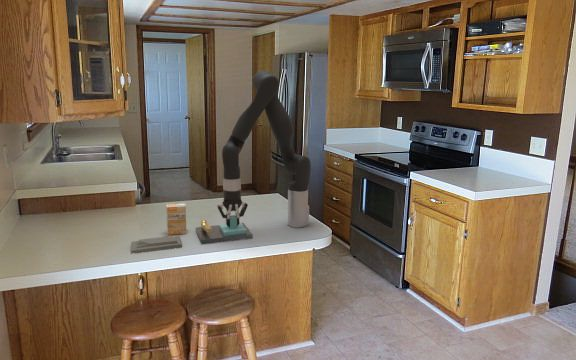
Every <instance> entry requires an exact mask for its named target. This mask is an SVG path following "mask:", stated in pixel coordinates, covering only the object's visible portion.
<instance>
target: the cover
mask: <svg viewBox="0 0 576 360" xmlns="http://www.w3.org/2000/svg"><path fill="white" fill-rule="evenodd" d="M229 219H230V227H228V226H227V225H226V223H225V224H219V228H220V230H221V231H222V233H223V235H224V236H225V235H234V234H243V233H247V229H246V228H245V227H244V226H243V224H242V223H243V222H239V225H238V226H237V217H236V214H235V215H234V214H233V215H232V214H231V215H230V218H229Z"/></svg>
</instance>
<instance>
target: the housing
mask: <svg viewBox="0 0 576 360" xmlns="http://www.w3.org/2000/svg"><path fill="white" fill-rule="evenodd" d="M241 223H242V224H243V226H244V227H245V228H246V229H247V233H243V234H234V235H225V236H224V235H223V233H222V231H221V230H220V228H219V225H220V224H219V225H218V224H217V225H216V224H215V225H209V226H210V227H211V228H212V233H207V232H206V231H202V230H201V226H196V227H195V233H196V235H197V238H198V239H199V242H200V244H201V245H207V244H217V242H218V243H224V242H225V243H228V242H234V241H242V240H243V241H244V240H250V239H253V233H252V231H251V230H250V229H249V228H248V227H247V225H246V224H245V223H244V222H241Z"/></svg>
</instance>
